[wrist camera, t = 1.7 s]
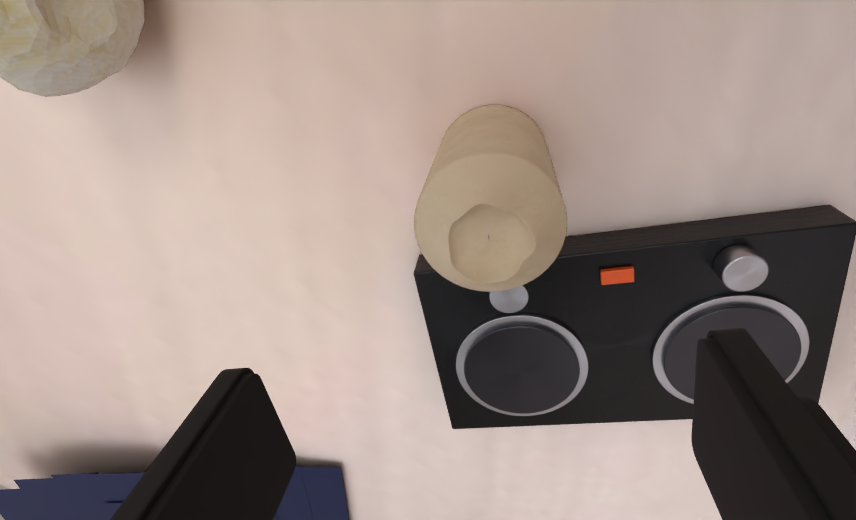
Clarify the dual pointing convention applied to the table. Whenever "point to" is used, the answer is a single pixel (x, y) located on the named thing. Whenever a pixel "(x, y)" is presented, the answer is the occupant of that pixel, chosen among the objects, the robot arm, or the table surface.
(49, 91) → the cream lumpy piece
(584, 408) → the hot plate
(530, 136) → the candle
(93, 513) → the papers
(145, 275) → the table surface
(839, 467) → the robot arm
